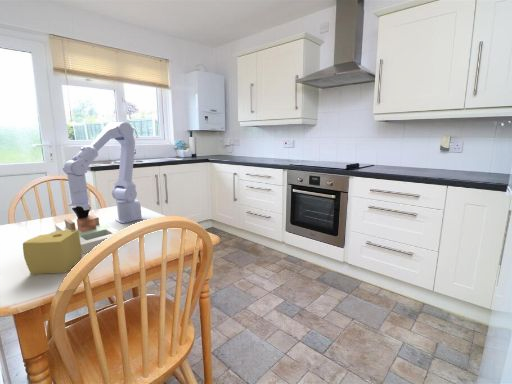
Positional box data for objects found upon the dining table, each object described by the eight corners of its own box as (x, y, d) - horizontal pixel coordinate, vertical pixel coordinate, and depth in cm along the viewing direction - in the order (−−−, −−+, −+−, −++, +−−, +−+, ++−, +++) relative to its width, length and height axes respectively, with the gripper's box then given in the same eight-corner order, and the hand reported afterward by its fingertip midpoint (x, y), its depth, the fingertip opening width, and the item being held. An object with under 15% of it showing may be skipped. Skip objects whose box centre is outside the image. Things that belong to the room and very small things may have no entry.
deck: (93, 222, 126) (91, 210, 125) (124, 241, 105) (122, 225, 103) (56, 231, 116) (53, 217, 115) (82, 253, 95) (79, 236, 93)
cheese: (50, 259, 90) (44, 230, 88) (85, 258, 91) (80, 228, 89) (27, 276, 80) (20, 243, 78) (66, 273, 81) (61, 241, 79)
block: (92, 225, 113) (90, 216, 112) (96, 228, 110) (95, 218, 109) (78, 229, 109) (76, 219, 109) (82, 232, 106) (80, 221, 105)
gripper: (61, 190, 111) (67, 222, 114) (72, 195, 102) (78, 230, 104) (81, 187, 116) (86, 218, 119) (93, 192, 107) (98, 226, 109)
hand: (83, 224), depth 112 cm, fingers closed
